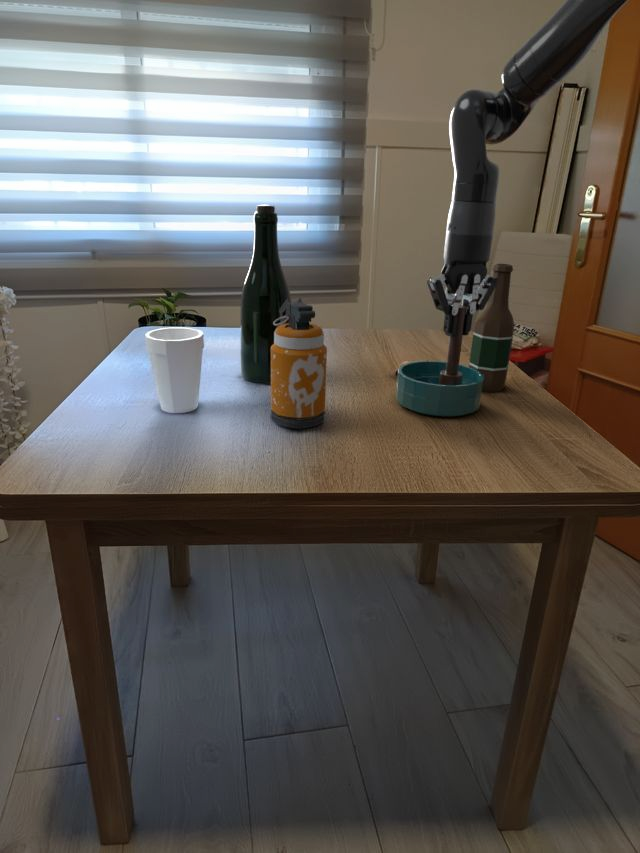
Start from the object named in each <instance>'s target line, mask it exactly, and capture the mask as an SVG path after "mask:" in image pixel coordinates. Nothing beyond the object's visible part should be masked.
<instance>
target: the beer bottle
mask: <svg viewBox="0 0 640 853" xmlns="http://www.w3.org/2000/svg"><path fill="white" fill-rule="evenodd" d="M492 271H493V275H492V277H495V278H498V284H497V285H496V287H495V289H494V291H493V293H492V294H491V296H490V298H489V300H488V302H487V303H486V305H485V307H484V309H483V310H481V313H480V314H479V315H478V317H477V319H476V321H475V323H474V328H473V332H472V333H473V334H472V341H471V348H470V356H469V363H468V367H471V368H474V369H476V370H478V371H479V372H481V373H482V374H483V376H484V380H483V387H482V392H486V393H492V392H493V393H494V392H502V391H503V389H504V387H505V386H506V381H507V376H508V371H509V364H510V358H511V352H512V345H513V339H514V332H515V331H514V330H515V322H514V316H513V314H512V312H511V310H510V308H509V306H510V305H509V299H510V298H509V297H510V288H511V287H510V286H511V278H512V277H511V275H512V273H513V271H514V267H513V265H512V264H508V263H496V264H495V265H494V266H493V268H492Z"/></svg>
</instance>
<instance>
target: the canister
mask: <svg viewBox="0 0 640 853" xmlns="http://www.w3.org/2000/svg"><path fill="white" fill-rule="evenodd" d="M285 309H286V315H285V316H282V313H283V312H284V310H285ZM313 309H314V308H313V305H311V304H309V305H308V304H307V303H305V302H303V300H302V298H301V297H299V299H298V300H297V301H295V302H293V301H292V302H291V303H289V301H288V298H287V299H286V301H285V302H284V304H283V305H282V306H281V308H280V309H279V312H280V318H278V319H276V320H275V321H274V322H273V324H274V325H275V326H277V325H279V326H278V327H277V328H276V331H275V332H274V344H273V345H272V346H271V383H270V419H271V421H272V422H273V423H275V424H277V425H279V426H283V427H286V428H290V429H307V428H311V427H314V426H318V425H319V424H320V425H321V423H323V422H324V421H325V418H326V416H325V415H326V414H325V413H326V411H325V410H326V390H327V389H326V386H327V360H328V357H327V356H328V347H327V346H326V345H325V343H324V342H325V332H324V331H323V328H322V327H321V326H319V325H318V324H313V323H311V322H312V319H315V318H316V311H315V310H313ZM279 319H280V321H281V323H279V324H275V322H276V321H278V320H279ZM288 320H289V323H286V322H287V321H288ZM285 323H286V324H285Z"/></svg>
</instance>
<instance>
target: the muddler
mask: <svg viewBox="0 0 640 853" xmlns="http://www.w3.org/2000/svg"><path fill="white" fill-rule="evenodd" d="M465 314H466V306H462V304H459V309H458V313H457V314H456V315H457V316H458V318H457V326H456V334H455V336H451V337H450V336H449V338H448V347H447V353H446V354H447V356H446V362H447V363H446V370H442V371H441V372H440V378H439V385H461V384H462V376H463V374H462V373H461V372H459V371H458V368H459V364H460V359H461V351H462V344H463V337H464V335H463V329H464V322H465Z"/></svg>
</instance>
